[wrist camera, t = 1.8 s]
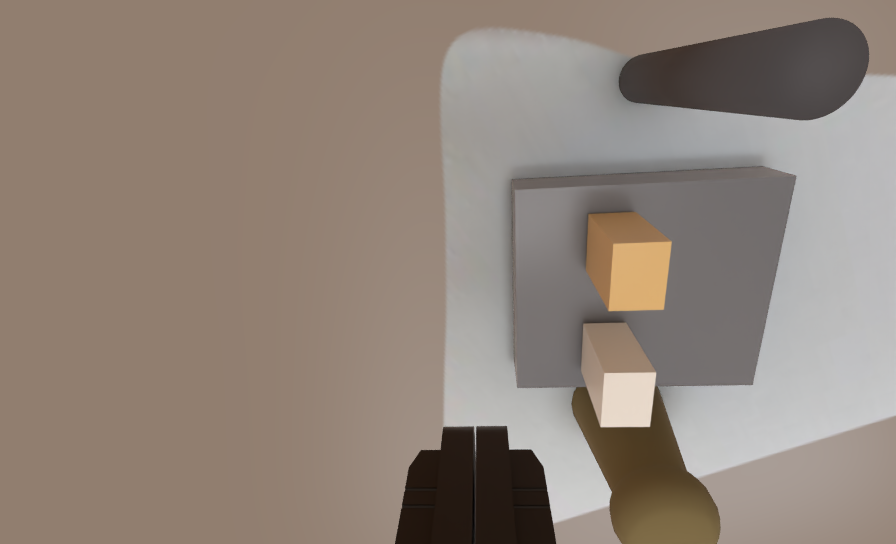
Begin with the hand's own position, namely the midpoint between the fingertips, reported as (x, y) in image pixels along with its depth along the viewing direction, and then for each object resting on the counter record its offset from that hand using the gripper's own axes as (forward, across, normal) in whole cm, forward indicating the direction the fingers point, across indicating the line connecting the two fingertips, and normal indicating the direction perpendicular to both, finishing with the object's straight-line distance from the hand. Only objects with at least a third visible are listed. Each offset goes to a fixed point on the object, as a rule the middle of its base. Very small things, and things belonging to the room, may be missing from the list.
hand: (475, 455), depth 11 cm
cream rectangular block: (+16, -7, +7) cm, 18 cm away
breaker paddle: (+16, -7, 0) cm, 17 cm away
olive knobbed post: (+19, -9, +13) cm, 25 cm away
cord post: (+19, -9, -8) cm, 22 cm away
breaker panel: (+19, -9, +3) cm, 21 cm away
